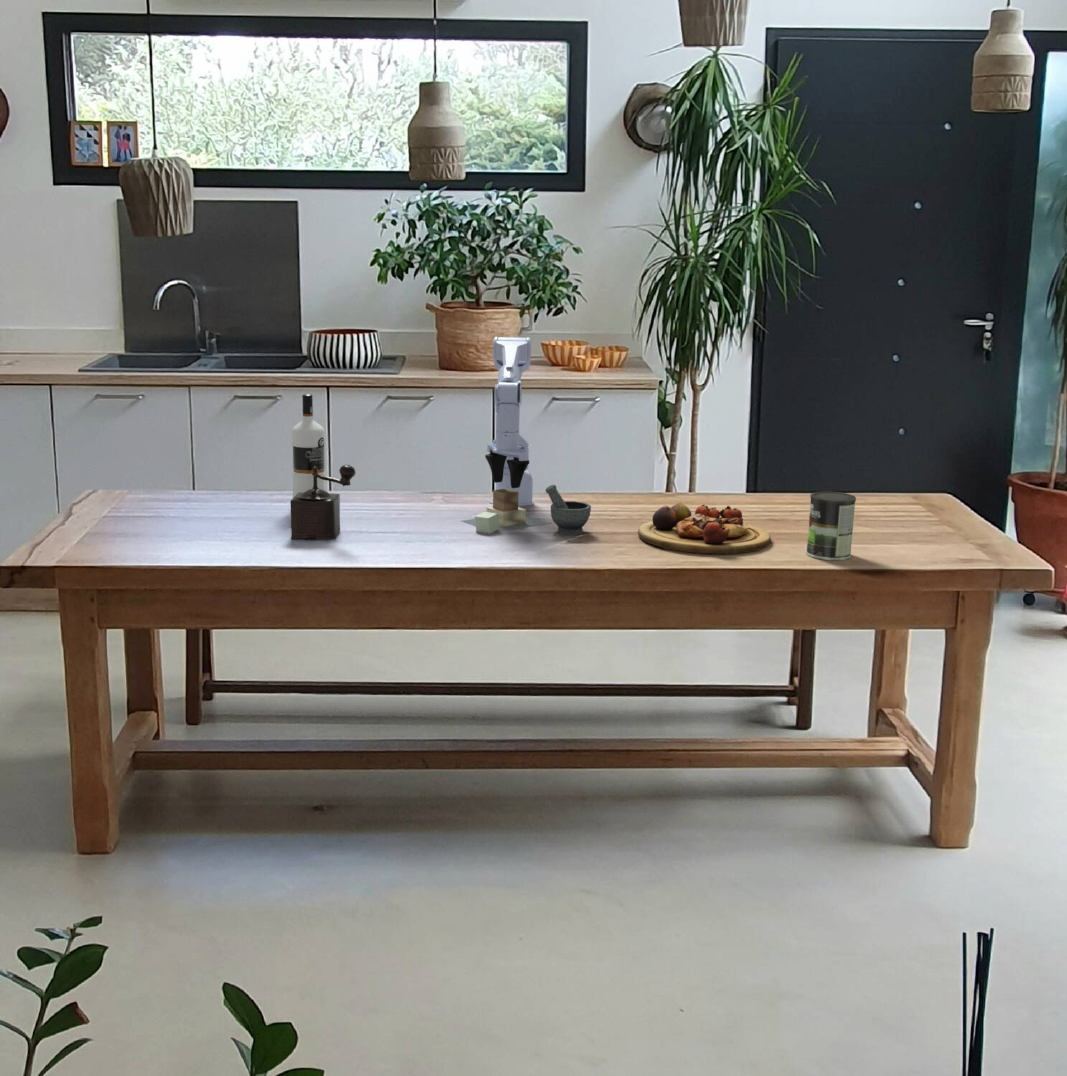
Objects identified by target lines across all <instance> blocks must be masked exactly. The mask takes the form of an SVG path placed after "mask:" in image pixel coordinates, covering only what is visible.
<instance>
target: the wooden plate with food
mask: <svg viewBox="0 0 1067 1076" xmlns="http://www.w3.org/2000/svg"><path fill="white" fill-rule="evenodd" d="M637 534H638V537H639V538H640V539H641V541H644V542H645V543H648V544H650V545H654V546H655V547H660V548H664V549H668V550H669V549H670V550H673V551H680V552H689V553H698V554H719V555H720V554H721V555H722V554H723V555H724V554H740V553H741V554H742V553H749V552H754V551H759V550H762V549H765V548H766V547H767V546H768V545H770V543H771V535H770V534H769V532H768V531H767V530H765V529H763V528H760V527H759V526H755V525H752V524H748V523H745V522H744V518H743V513H742V511H741V510H740V509H738V508H737V507H735V508H731V507H730V505H726V507H725V508H722V510H718V509H717V507H715V506H714V507H709V506H708V505H705V504H701V505H699V506H697V507H696V508H695V512H694V514H693V515H692V512H691V509H690V508H689V507H688V506H687V505H685V504H684V503H682V501H679V502H677V503H676V504H674V505H672V506H671V507H670V506H669V505H668V504H666V505H665V504H664V506H663V505H662V506H661V507H660V508H658V509H657V510H656V511H655V512H654V513H653V516H652V521H648V522H645V523H643V524H642V525H640V526H639V528H638V530H637Z"/></svg>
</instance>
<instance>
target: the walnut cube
mask: <svg viewBox="0 0 1067 1076" xmlns="http://www.w3.org/2000/svg"><path fill="white" fill-rule="evenodd" d="M492 501H493V504H492V507H493V508H494V509H498V510H501V511H510V510H517V509H518V507H519V506H518V491H515V490H511V489H508V488H507V489H500V490H496V489H494V490H492Z"/></svg>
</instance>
